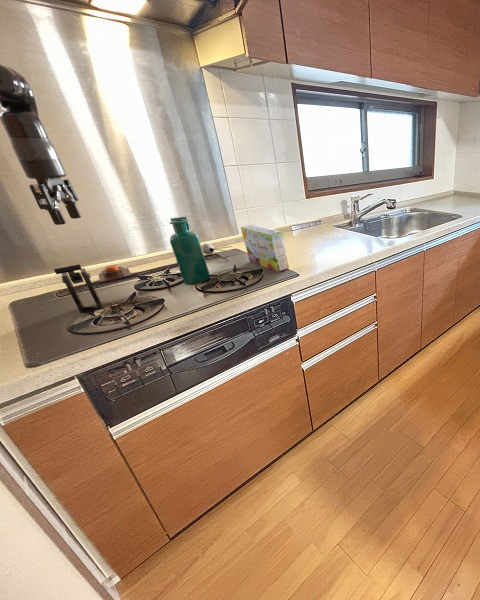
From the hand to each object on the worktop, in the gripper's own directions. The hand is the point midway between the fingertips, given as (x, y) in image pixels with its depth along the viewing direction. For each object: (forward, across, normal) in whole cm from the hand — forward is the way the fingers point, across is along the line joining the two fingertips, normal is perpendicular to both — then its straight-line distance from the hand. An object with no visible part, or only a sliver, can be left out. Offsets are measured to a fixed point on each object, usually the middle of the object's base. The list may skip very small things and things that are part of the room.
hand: (68, 221), depth 90 cm
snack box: (+26, -18, +48) cm, 58 cm away
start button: (+23, -25, -6) cm, 35 cm away
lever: (+14, +8, -1) cm, 16 cm away
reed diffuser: (+26, -38, +26) cm, 53 cm away
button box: (+26, -25, -6) cm, 37 cm away
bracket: (+26, +4, -3) cm, 27 cm away
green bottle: (+26, -14, +23) cm, 37 cm away
